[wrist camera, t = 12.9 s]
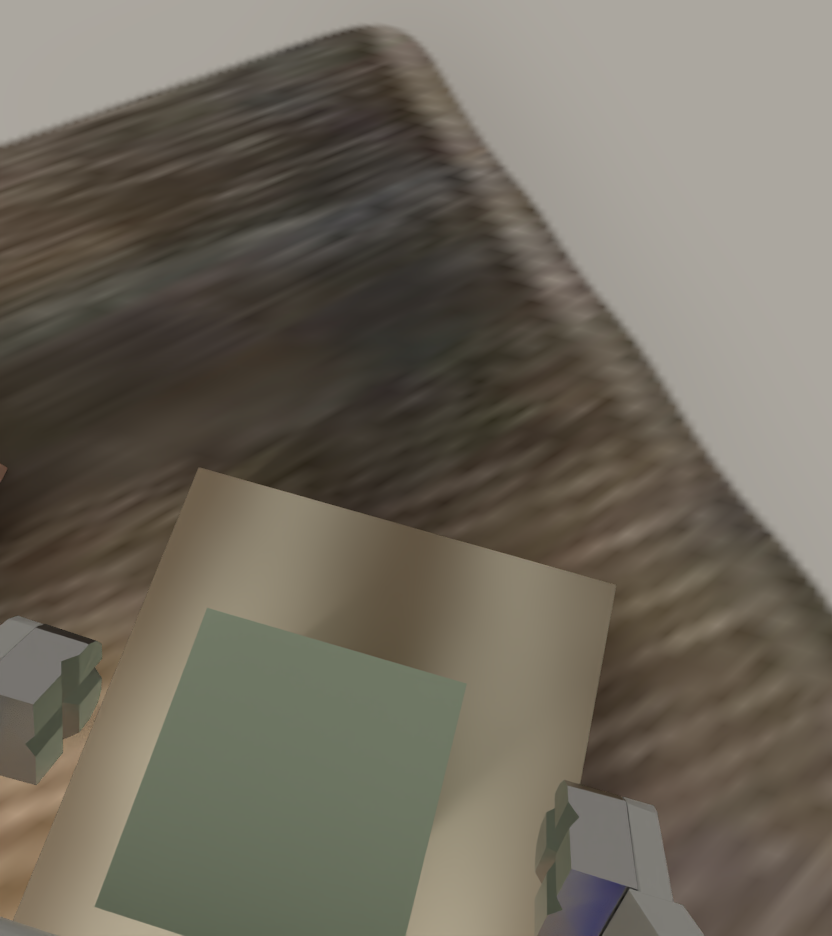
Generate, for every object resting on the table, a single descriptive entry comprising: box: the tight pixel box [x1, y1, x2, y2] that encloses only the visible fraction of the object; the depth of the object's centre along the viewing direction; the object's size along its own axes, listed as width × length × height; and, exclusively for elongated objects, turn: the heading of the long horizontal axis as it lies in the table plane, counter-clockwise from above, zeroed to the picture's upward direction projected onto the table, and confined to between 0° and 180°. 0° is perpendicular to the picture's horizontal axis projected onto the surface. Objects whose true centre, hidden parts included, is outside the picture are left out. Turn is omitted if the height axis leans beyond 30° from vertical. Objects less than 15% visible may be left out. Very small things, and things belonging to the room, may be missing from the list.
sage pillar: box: [94, 608, 467, 936], centre depth 13 cm, size 4×4×8 cm
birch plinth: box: [13, 468, 616, 936], centre depth 18 cm, size 12×12×3 cm
